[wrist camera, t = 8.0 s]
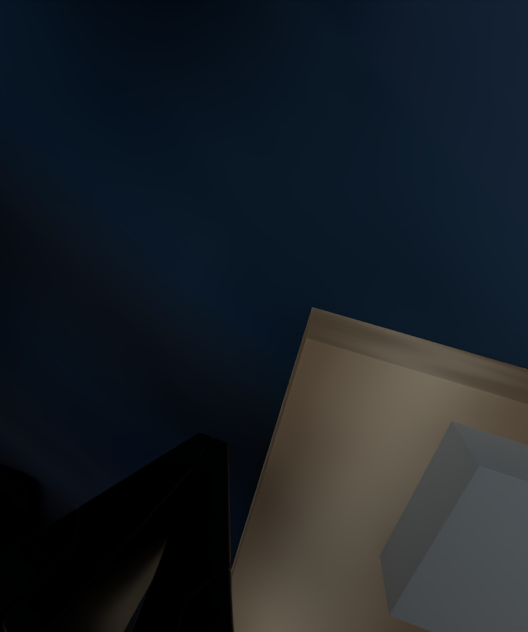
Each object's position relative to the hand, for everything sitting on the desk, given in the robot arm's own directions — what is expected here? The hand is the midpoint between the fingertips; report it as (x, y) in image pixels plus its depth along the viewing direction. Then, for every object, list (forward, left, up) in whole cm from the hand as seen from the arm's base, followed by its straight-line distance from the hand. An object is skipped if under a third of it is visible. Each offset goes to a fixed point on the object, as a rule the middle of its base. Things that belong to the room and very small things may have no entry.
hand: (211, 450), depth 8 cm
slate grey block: (+8, 0, -1) cm, 8 cm away
